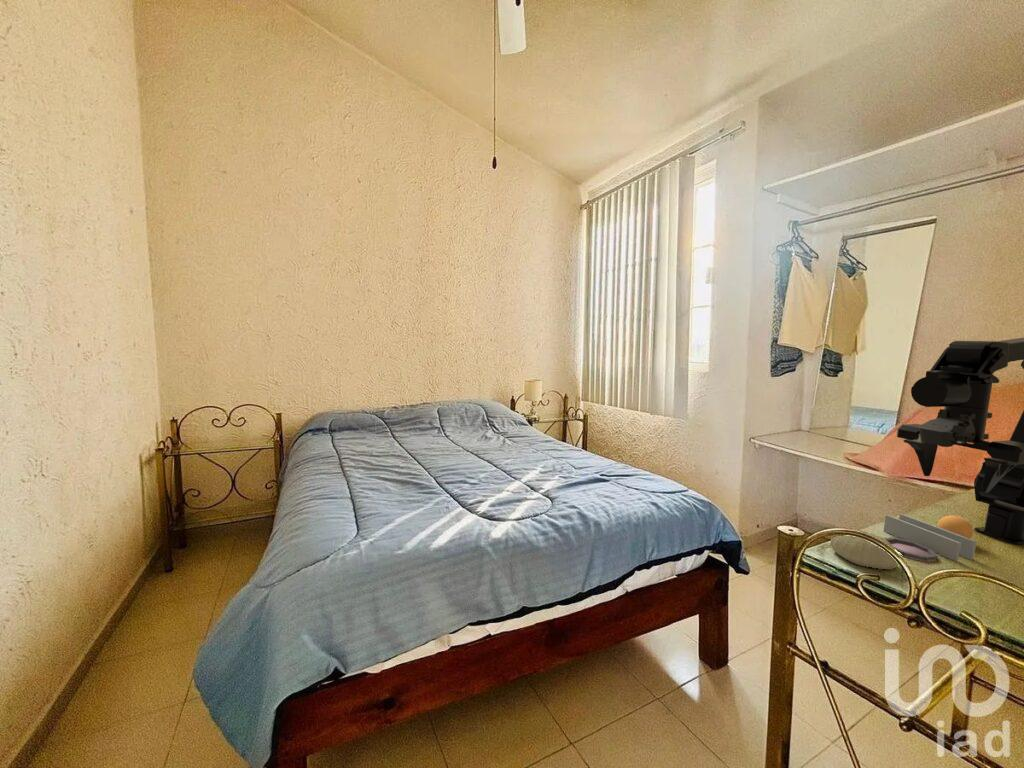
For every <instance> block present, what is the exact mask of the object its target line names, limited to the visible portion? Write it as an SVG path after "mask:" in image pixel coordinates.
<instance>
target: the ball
mask: <svg viewBox="0 0 1024 768" xmlns="http://www.w3.org/2000/svg"><path fill="white" fill-rule="evenodd" d="M937 527H939V528H942V529H945V530H947V531H950V532H953V533H955V534H958V535H961V536H963V537H966V538H969V539H972V538H973V536H974V533H975V532H974V531H975V530H974V527H973V525H972V524H971V523H970V522H969V521H968V520H966V519H965V518H963V517H962V516H958V515H946V516H943V517H942V518H940V519H939V520H938V521H937Z"/></svg>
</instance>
